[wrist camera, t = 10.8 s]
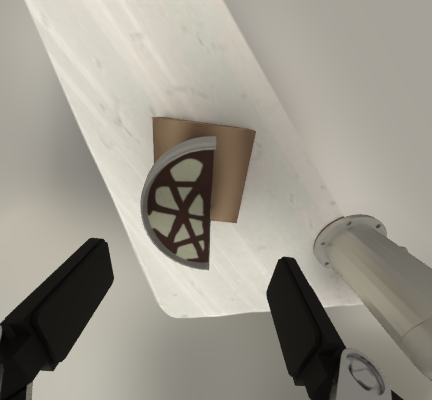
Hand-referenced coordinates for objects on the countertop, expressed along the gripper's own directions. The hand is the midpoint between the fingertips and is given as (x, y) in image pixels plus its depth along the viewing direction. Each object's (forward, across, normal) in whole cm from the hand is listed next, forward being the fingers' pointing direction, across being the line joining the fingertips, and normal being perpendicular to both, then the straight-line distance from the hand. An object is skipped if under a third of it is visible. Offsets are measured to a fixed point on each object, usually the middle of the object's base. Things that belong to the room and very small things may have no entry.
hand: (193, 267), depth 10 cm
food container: (+15, +2, 0) cm, 15 cm away
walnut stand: (+19, +1, 0) cm, 19 cm away
